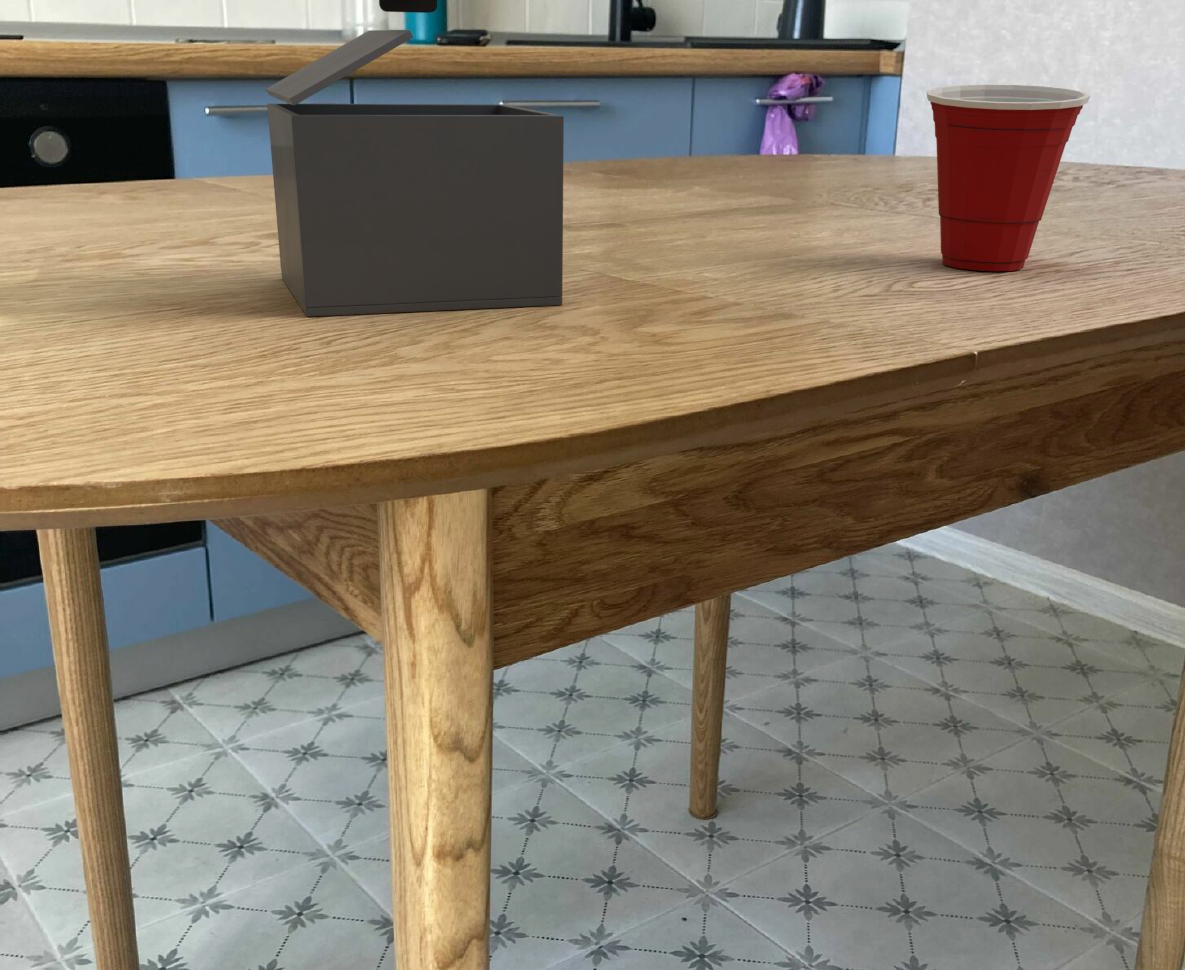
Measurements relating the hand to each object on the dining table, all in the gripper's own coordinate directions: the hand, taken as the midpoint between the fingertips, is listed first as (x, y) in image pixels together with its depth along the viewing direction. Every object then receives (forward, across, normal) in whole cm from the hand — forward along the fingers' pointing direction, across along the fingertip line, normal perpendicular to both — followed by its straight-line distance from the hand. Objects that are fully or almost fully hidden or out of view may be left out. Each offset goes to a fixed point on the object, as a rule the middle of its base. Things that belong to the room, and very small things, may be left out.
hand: (408, 11), depth 72 cm
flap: (+3, -1, +4) cm, 5 cm away
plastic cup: (+16, +6, -41) cm, 44 cm away
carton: (+16, 0, 0) cm, 16 cm away
